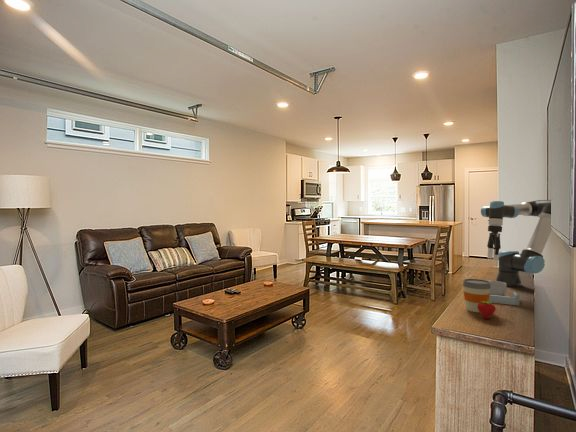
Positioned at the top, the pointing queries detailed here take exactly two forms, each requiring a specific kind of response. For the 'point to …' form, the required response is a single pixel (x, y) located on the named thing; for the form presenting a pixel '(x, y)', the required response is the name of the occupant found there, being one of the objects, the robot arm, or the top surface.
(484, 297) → the reusable coffee cup
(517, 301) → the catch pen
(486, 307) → the strawberry
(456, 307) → the top surface
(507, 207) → the robot arm
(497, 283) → the teacup
